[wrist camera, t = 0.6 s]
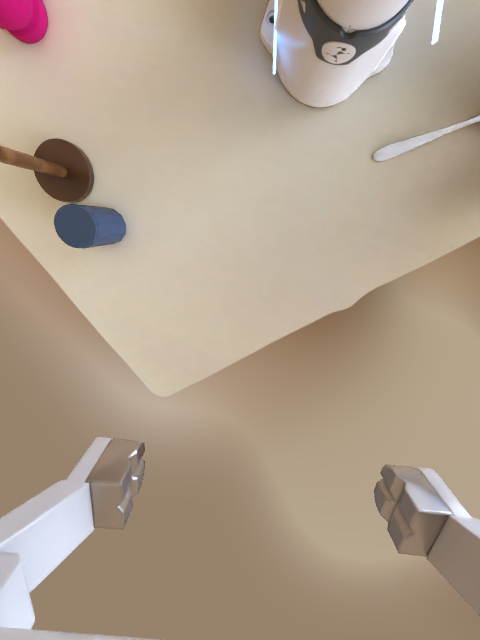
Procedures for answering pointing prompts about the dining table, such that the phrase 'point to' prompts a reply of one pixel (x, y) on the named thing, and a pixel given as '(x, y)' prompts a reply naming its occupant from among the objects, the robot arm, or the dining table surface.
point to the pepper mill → (24, 19)
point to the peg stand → (56, 168)
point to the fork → (416, 141)
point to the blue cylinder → (89, 225)
